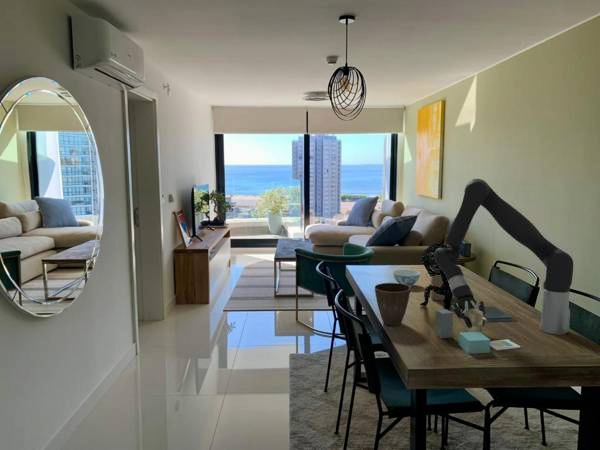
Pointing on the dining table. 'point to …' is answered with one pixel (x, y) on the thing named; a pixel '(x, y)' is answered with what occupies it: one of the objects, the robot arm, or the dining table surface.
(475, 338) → the teal base block
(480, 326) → the maple block
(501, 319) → the dark blue-grey book
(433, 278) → the wooden block
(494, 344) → the card
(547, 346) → the dining table surface
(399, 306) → the plant pot
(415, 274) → the chinaware
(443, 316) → the charcoal block
